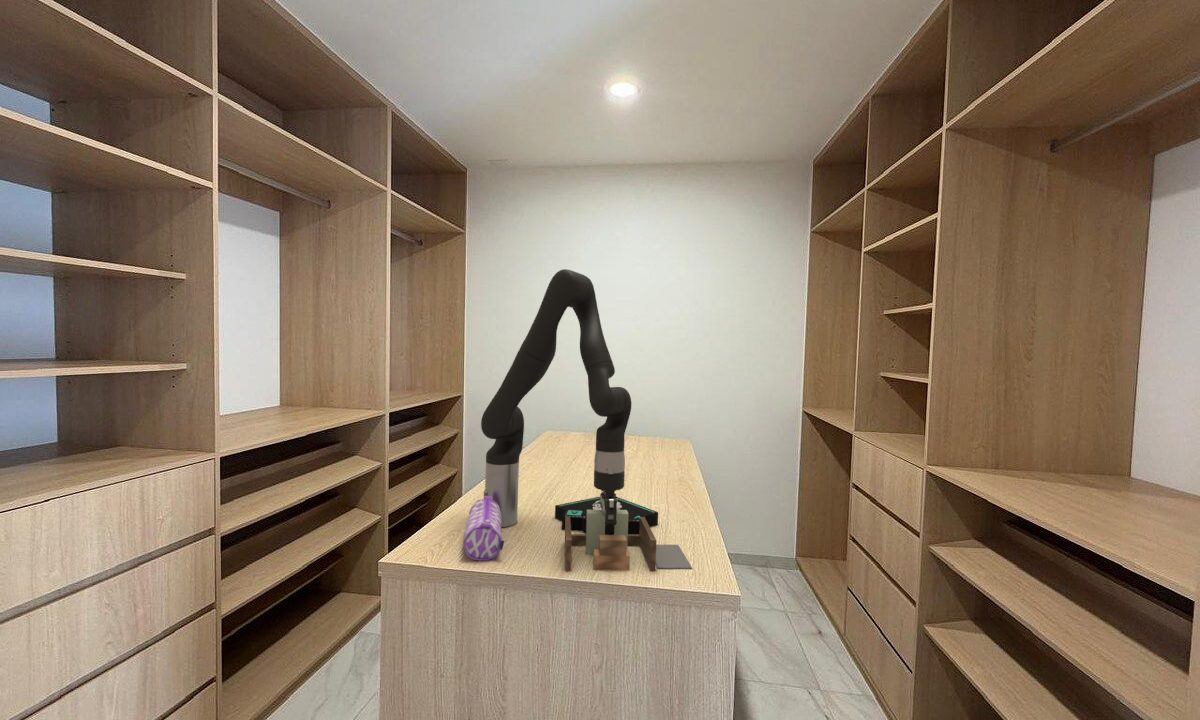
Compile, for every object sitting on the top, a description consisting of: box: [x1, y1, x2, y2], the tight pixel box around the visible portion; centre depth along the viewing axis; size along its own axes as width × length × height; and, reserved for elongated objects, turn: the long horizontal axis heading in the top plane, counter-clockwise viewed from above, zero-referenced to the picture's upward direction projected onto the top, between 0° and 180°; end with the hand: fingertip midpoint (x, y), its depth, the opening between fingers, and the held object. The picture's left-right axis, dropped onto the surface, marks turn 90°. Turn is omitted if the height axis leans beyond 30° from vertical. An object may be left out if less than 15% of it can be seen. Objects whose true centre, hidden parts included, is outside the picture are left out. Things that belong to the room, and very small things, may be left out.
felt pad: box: [656, 544, 693, 570], centre depth 126 cm, size 8×14×1 cm, turn 5°
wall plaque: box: [554, 496, 659, 534], centre depth 151 cm, size 30×4×30 cm
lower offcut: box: [593, 549, 631, 571], centre depth 120 cm, size 8×4×4 cm, turn 93°
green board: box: [585, 510, 628, 555], centre depth 128 cm, size 10×3×10 cm, turn 95°
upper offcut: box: [599, 535, 627, 556], centre depth 119 cm, size 6×4×4 cm, turn 94°
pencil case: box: [463, 495, 505, 562], centre depth 130 cm, size 22×9×9 cm, turn 13°
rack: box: [563, 516, 657, 572], centre depth 125 cm, size 20×16×7 cm
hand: (607, 533), depth 128 cm, fingers open, 8 cm apart
